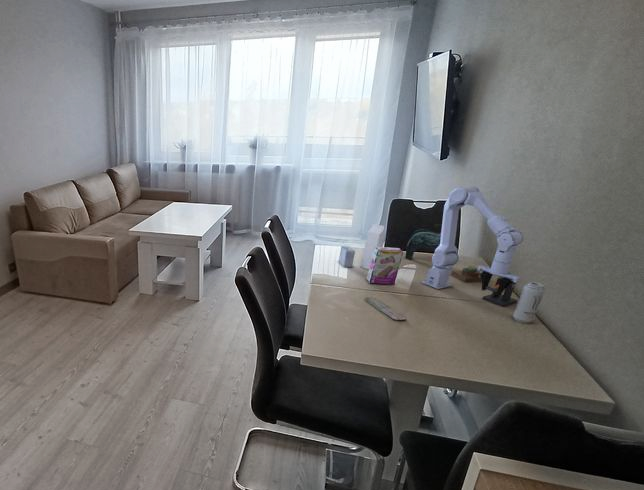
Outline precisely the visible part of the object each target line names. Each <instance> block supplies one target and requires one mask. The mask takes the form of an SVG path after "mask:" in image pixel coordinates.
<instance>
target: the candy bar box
mask: <svg viewBox="0 0 644 490" xmlns="http://www.w3.org/2000/svg"><path fill="white" fill-rule="evenodd" d="M403 255H404V250H402V249H401V248H399V247H389V246H388V247H387V246H386V247H385V246H383V247H374V251H373V255H372V259H371V263H370V267H369V270H368V272H367V276H366V281H367V282H368V284H372V285H373V284H374V285H388V286H389V285H390V286H395V284H396V280H397V277H398V273H399V269H400V266H401V261H402V258H403Z"/></svg>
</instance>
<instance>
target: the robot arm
mask: <svg viewBox="0 0 644 490" xmlns="http://www.w3.org/2000/svg"><path fill="white" fill-rule="evenodd" d="M464 206H472V207H474V208H475V209H476V210H477V211H478V212H479V213H480V214H481V215H482V216H483V218H485V219H486V220H487V223H486V226H487V227H488V228H489V229H490V230H491V231H492V233H493V235H495V236H496V241H497V248H496V252H495V255H494V258H493V260H492V263H491V265H490V266H485V265H481V264H480V265H478V266H477V270H478V271H480V276H481V280H482V282H481V290H482V291H487V289H485V286H488V287H489V283H490V281H491V280H492V277H493V276H495V277H497V278H500V277H501V278H504V279H501V280H500V284H499V288H498V291H497V294H496V295H497V296H499V295H501V294H502V295H503V293H504V291H505V289H506V287H507V286H508V285H510V284H511V283H512V282H515V283H516V284H517V283H519V282H520V279H521V277H520V276H517V275H515V274H513V273H511V272H509V271H510V268H511V265H512V262H513V259H514V257H515V254H516V252H517V248H518V245H521V244H522V243H523V241H524V234H522V233H523V232H521V231H520V230H516V228H515V227H513V226H512V225H511V224H510V223H509V221H507V220H508V218H507V216H503V215H500V214H498V215H497V213H496V212H495V210H494V209H493V208H492V206H491V205H490V203H489V202H488V201H487V200H486V198H485V197H484V193H483V192H482V191H481V190H480V188H478V187H477V186H467V187H456V188H454V189H452V191H449V195H448V198H447V199H446V201H445V204H444V205H443V215H442V223H441V226H442V227H441V230H442V231H441V230H440V232H441V240H440V245H439V246H438V247H437V248H436V249H435V252H434V253H433V255H432V258H431V263H432V267H431V268H429V269H428V270H427V271H426V275H425V278H424V280H423V281H422V282H421V283H422V284H424V285H426V286H429V287H431V288H434V289H437V290H440V289H445V288H449V287H452V284H449V280H450V277H451V273H452V271H453V268H454V266H455V265H456V264H457V263H458V262H459V259H460V257H459V254H458V253H459V252H458V249H459V248H457V246H456V237H457V229H458V221H459V212H460V209H462V208H463V207H464Z"/></svg>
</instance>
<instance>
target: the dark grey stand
mask: <svg viewBox="0 0 644 490" xmlns="http://www.w3.org/2000/svg"><path fill="white" fill-rule="evenodd" d="M501 279H504V278H501V277H497V278H496V281H495V284H494V286H496V285H499V284H500V280H501ZM516 285H517V283H515V282H512V283H511V284H510V285H508V286H507V287H506V289H505V290H504V291H503V293H502V294H501V295H499V296H497V295H496V294H497V293H496V292H493V291H491V294H487V295H483V296H482V300H484V301H487V302H489V303H492V304H495V305H497V306H501V307H502V308H503V307H507V306H509V305H513V304H515V303H518V299H517V298H513V297H512V294H513V292H514V289H515V286H516ZM497 290H498V289H497Z"/></svg>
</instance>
